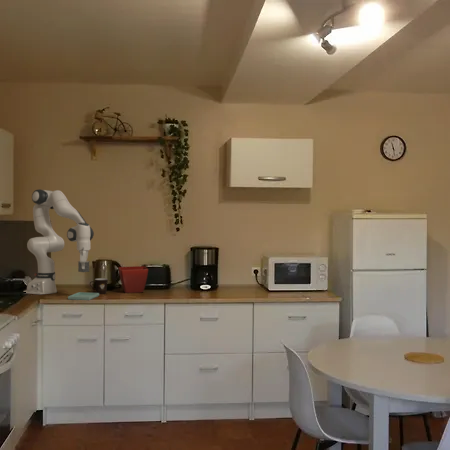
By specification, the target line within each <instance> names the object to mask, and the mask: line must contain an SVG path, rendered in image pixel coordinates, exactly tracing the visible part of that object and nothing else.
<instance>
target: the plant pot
mask: <svg viewBox="0 0 450 450" xmlns="http://www.w3.org/2000/svg"><path fill="white" fill-rule="evenodd" d="M118 273H119V280H120V283H121V287H122V290H123V292H124V294H128V293H131V294H132V293H136V294H137V293H143V292H144V291H145V288H146V285H147V282H148V281H147V279H148V275H149V274H148V273H149V268H147V267H146V266H145V265H144V266H143V265H142V266H141V265H139V266H136V265H135V266H118Z"/></svg>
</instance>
